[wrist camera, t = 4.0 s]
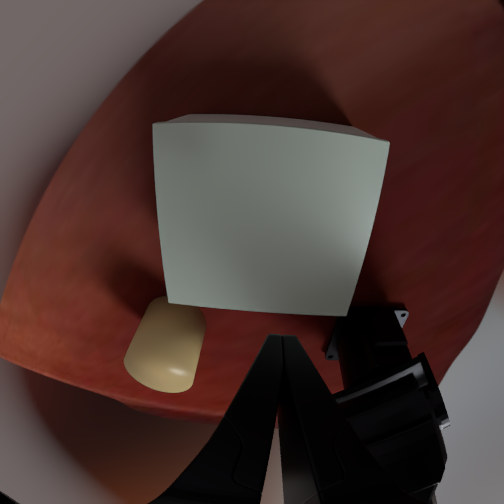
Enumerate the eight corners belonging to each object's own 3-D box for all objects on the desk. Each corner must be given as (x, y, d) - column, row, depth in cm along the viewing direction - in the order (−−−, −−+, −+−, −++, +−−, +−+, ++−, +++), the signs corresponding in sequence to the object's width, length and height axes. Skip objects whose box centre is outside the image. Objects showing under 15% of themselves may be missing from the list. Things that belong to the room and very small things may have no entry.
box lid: (344, 309, 18) (346, 316, 17) (171, 296, 18) (168, 302, 17) (385, 140, 12) (389, 142, 12) (157, 122, 12) (152, 123, 12)
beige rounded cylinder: (207, 343, 27) (196, 397, 21) (152, 336, 27) (133, 385, 21) (204, 299, 24) (189, 355, 19) (142, 292, 24) (115, 343, 19)
